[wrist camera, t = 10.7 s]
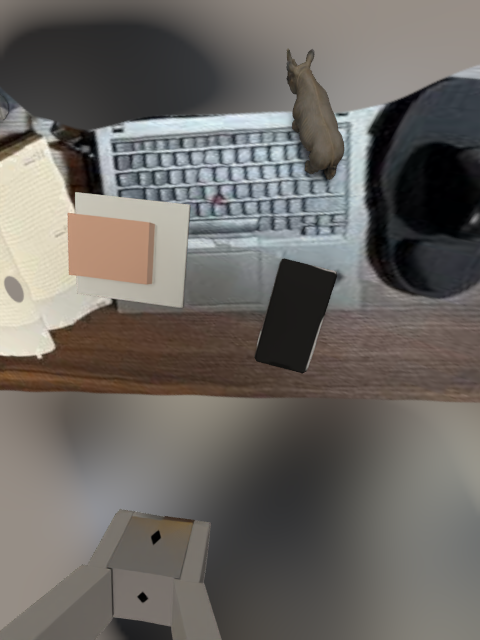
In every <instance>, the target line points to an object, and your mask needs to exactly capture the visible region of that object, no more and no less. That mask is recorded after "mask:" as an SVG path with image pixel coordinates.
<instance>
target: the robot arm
mask: <svg viewBox="0 0 480 640" xmlns="http://www.w3.org/2000/svg"><path fill="white" fill-rule="evenodd" d="M209 535H210V523H209V522H202V521H195V520H191V519H183V518H175V517H168V516H165V517H162V516H157V515H151V514H146V513H140V512H135V511H128V510H122V509H120V510H119V511H118V512H117V513H116V514H115V516H114V518H113V520H112V521H111V523H110V525H109V527H108V529H107V531H106V532H105V534H104V536H103V538H102V539H101V541H100V543H99V545H98V547H97V548H96V550H95V552H94V554H93V556H92V558H91V559H90V561H89V563H88V565H81V566H80V567H79V568H77V569H76V570H75V571H74V572H72V573H71V574H70V575H69V576H67V577H66V578H65V579H64V580H63V581H61V582H60V583H59V584H58V585H56V586H55V587H54V588H53V589H51V590H50V591H49V592H48V593H46V594H45V595H44V596H43V597H41V598H40V599H39V600H38V601H36V602H35V603H34V604H33V605H31V606H30V607H29V608H28V609H26V610H25V611H24V612H23V613H22V614H20V615H19V616H18V617H17V618H15V619H14V620H13V621H12V622H10V623H9V624H8V625H7V626H5V627H4V628H3V629H2V630H0V640H95V639H96V638H97V637H98V636H99V635H100V633H101V632H102V631H103V630H104V628H105V627H106V626H107V625H108V624H109V623H110V621H111V620H112V617H118V618H125V619H133V620H141V621H147V622H152V623H157V624H161V625H166V626H171V627H172V628H171V630H172V636H173V640H221V637H220V633H219V630H218V627H217V624H216V620H215V617H214V614H213V611H212V607H211V604H210V601H209V597H208V594H207V591H206V588H205V584H203V582H204V576H205V570H206V562H207V553H208V545H209Z"/></svg>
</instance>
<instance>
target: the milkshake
mask: <svg viewBox="0 0 480 640" xmlns="http://www.w3.org/2000/svg"><path fill="white" fill-rule="evenodd" d="M7 114H8V103H7V101H6V100H5V98H4V96H2V95H1V94H0V120H3V119H5V118H6V116H7Z"/></svg>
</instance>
